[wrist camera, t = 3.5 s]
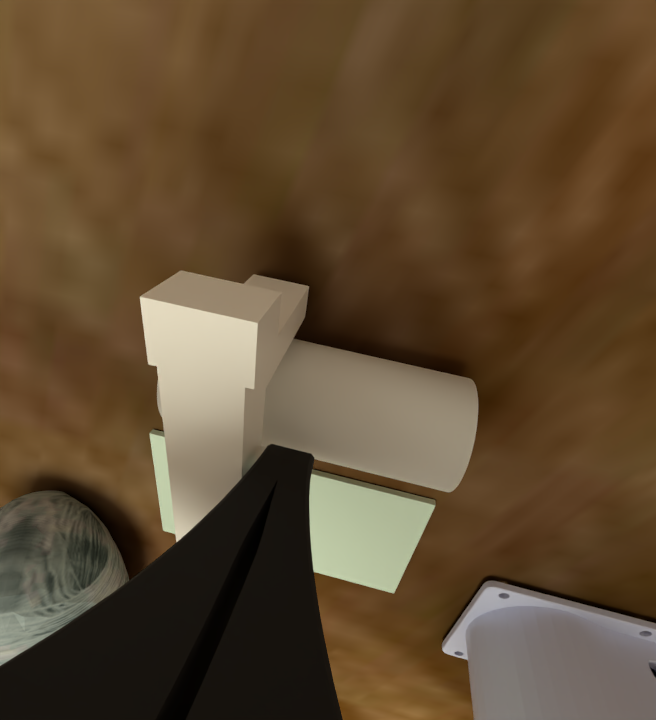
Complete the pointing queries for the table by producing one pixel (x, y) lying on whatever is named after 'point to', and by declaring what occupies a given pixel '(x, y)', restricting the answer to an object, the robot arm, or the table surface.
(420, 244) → the table surface
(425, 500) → the mat
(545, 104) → the table surface
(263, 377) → the cream flat notched block
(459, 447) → the cylinder
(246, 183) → the table surface
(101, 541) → the mottled grey-green ovoid
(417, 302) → the table surface
